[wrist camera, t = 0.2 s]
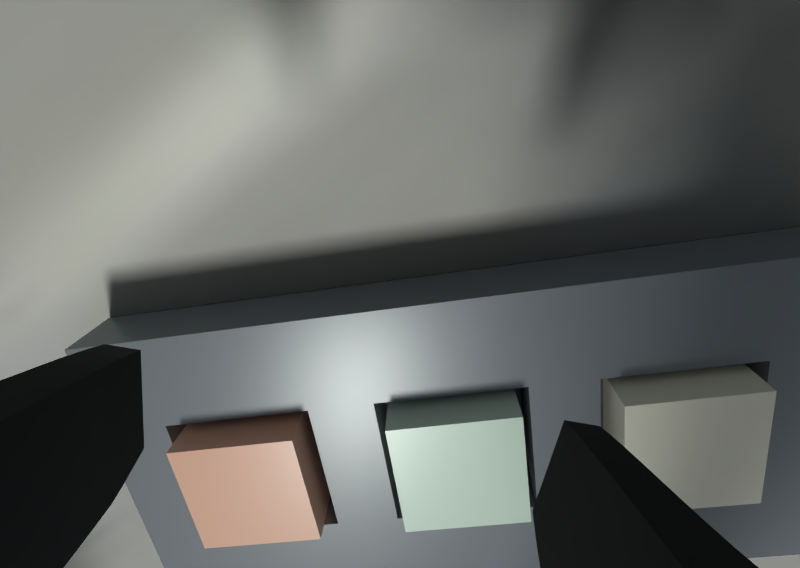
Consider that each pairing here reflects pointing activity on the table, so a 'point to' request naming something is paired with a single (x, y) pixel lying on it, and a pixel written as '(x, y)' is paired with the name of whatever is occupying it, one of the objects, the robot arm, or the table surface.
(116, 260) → the table surface
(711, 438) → the sand key
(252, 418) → the terracotta key
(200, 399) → the keypad
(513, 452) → the sage key
